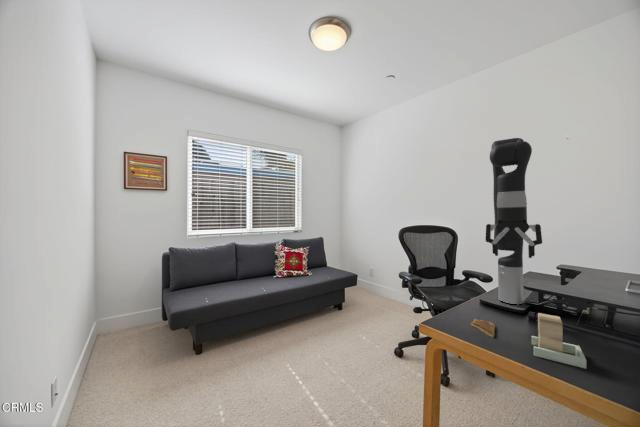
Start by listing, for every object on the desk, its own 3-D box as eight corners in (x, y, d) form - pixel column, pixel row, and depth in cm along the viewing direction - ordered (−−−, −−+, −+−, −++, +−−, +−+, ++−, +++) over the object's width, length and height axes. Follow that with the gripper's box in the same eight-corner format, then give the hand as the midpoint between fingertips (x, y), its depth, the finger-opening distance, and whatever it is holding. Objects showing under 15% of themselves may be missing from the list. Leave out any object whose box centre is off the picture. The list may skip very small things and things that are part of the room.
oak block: (538, 347, 80) (537, 312, 80) (559, 352, 77) (559, 316, 77) (539, 354, 76) (539, 318, 76) (562, 360, 73) (562, 322, 73)
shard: (494, 339, 86) (494, 334, 86) (468, 333, 90) (468, 328, 90) (495, 327, 95) (495, 322, 94) (471, 322, 99) (471, 317, 99)
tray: (531, 343, 82) (531, 335, 82) (579, 353, 76) (579, 345, 76) (533, 355, 76) (533, 347, 75) (586, 368, 69) (586, 359, 69)
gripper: (540, 204, 79) (541, 256, 79) (485, 206, 88) (487, 252, 88) (542, 205, 73) (543, 260, 73) (483, 207, 82) (485, 256, 82)
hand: (512, 256), depth 80 cm, fingers open, 8 cm apart
